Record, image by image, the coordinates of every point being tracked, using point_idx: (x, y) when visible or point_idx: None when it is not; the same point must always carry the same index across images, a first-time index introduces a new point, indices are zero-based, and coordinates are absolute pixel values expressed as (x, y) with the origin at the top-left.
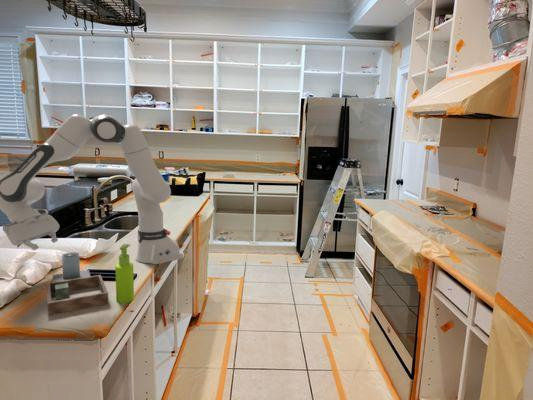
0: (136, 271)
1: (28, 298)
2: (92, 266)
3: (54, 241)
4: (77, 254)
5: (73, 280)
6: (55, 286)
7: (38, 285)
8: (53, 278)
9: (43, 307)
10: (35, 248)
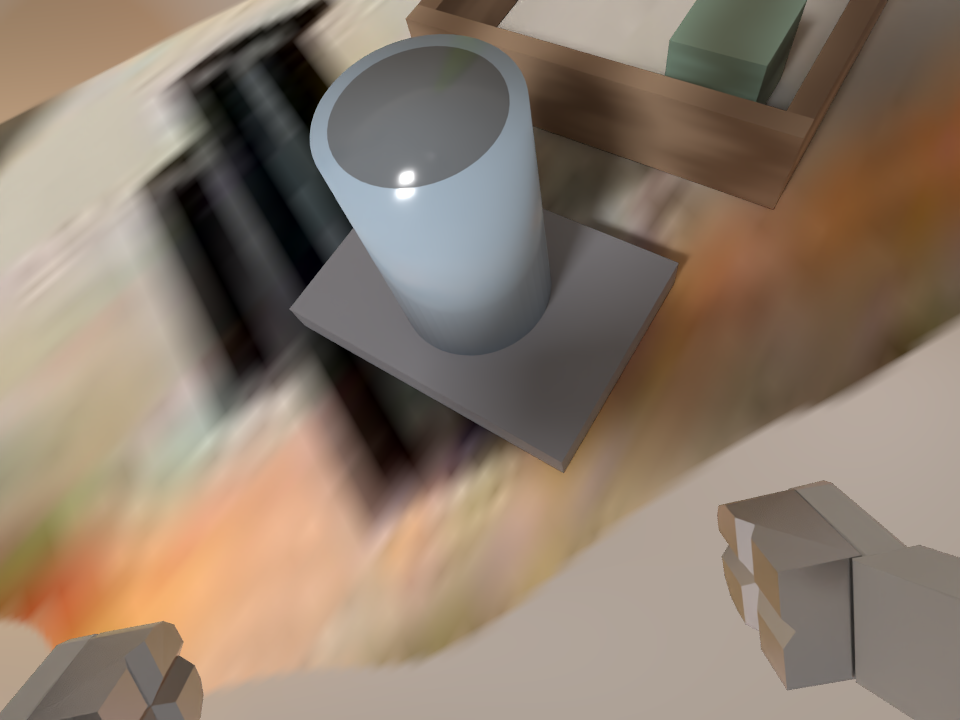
0: (139, 111)
1: (939, 226)
2: (153, 448)
3: (177, 652)
4: (364, 70)
5: (601, 61)
6: (778, 41)
7: (750, 422)
8: (611, 366)
9: (903, 34)
10: (816, 488)
